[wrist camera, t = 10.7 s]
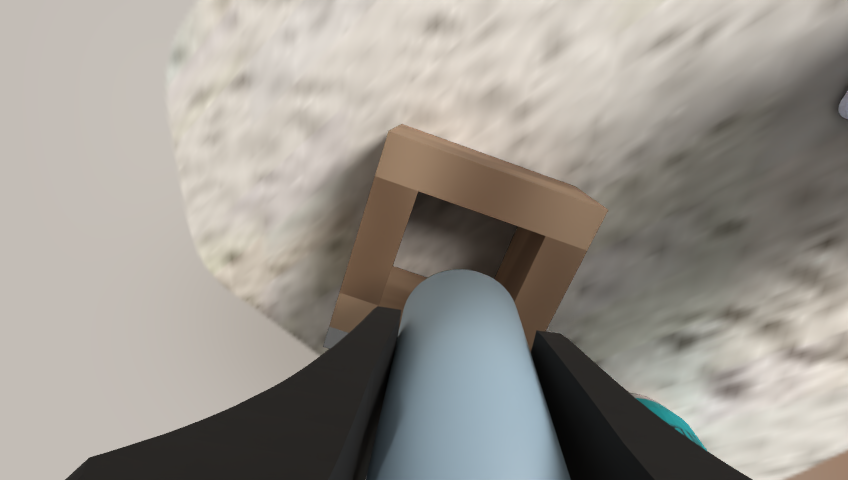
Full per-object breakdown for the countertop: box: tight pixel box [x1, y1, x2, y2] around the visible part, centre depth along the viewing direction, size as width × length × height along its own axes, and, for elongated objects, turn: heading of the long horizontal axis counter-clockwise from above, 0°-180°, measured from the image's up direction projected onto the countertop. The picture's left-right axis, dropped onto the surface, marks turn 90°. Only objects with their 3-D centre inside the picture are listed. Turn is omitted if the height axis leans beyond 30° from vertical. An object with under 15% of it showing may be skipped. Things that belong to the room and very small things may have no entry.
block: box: [329, 124, 608, 352], centre depth 17 cm, size 8×8×4 cm
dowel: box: [366, 269, 571, 480], centre depth 9 cm, size 3×3×7 cm
